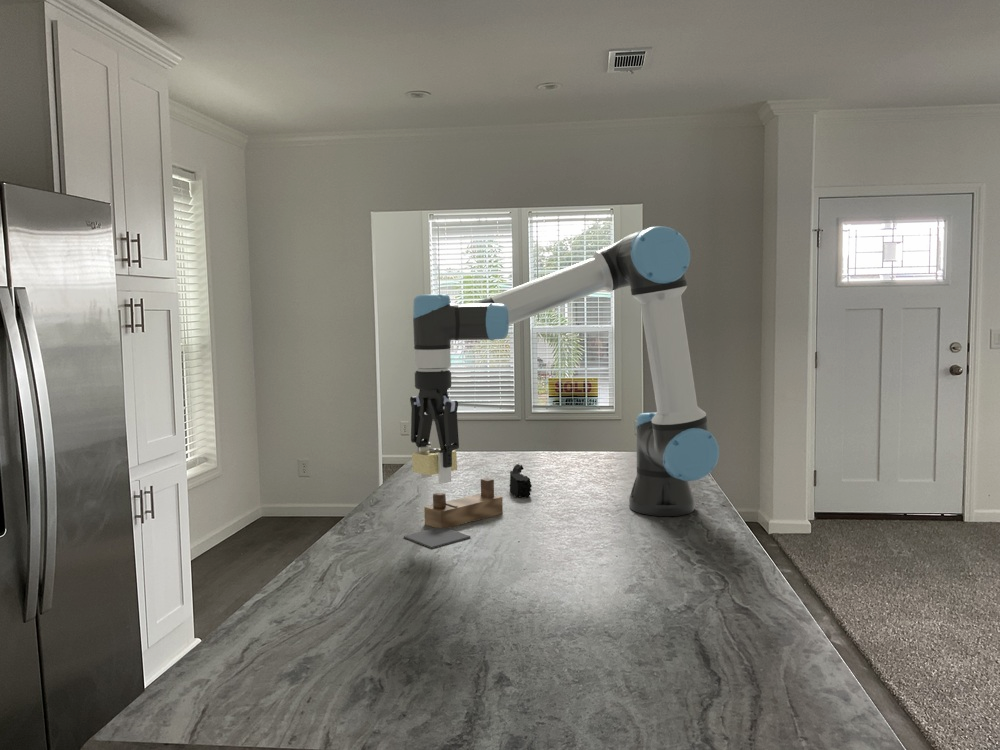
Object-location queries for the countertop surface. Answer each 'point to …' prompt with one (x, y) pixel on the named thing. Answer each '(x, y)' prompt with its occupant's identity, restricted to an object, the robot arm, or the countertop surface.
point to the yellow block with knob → (429, 461)
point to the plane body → (464, 507)
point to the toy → (519, 483)
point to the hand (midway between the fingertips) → (435, 479)
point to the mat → (436, 537)
